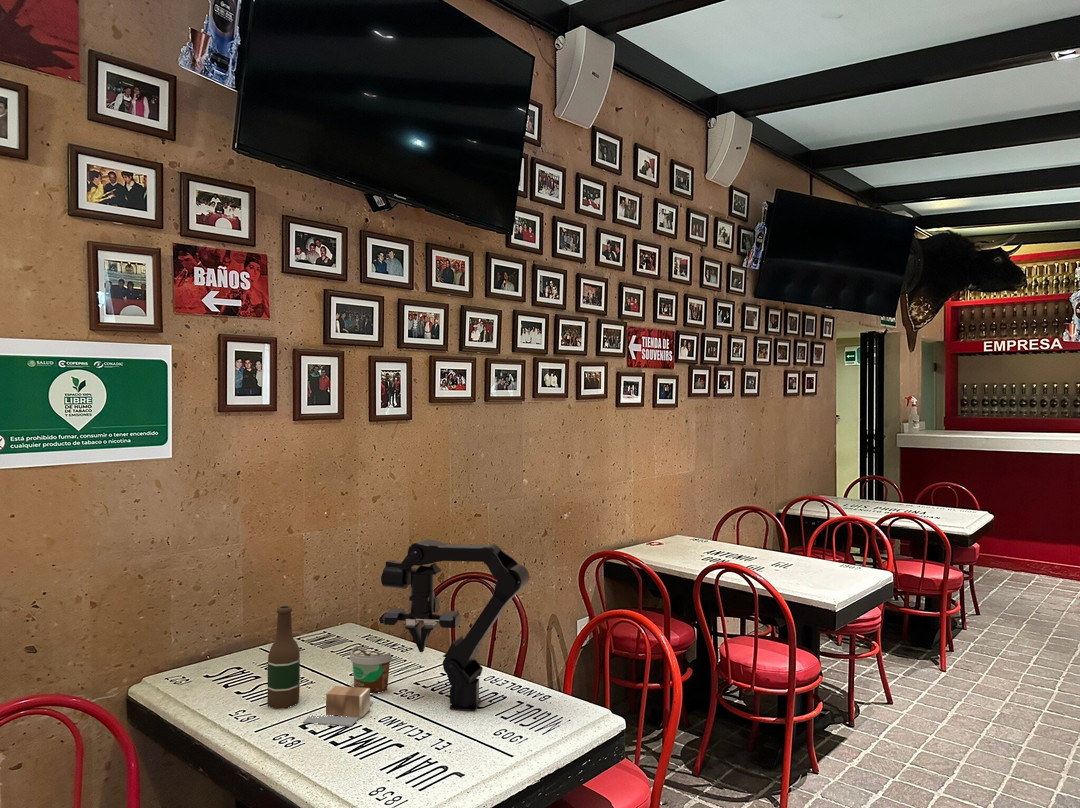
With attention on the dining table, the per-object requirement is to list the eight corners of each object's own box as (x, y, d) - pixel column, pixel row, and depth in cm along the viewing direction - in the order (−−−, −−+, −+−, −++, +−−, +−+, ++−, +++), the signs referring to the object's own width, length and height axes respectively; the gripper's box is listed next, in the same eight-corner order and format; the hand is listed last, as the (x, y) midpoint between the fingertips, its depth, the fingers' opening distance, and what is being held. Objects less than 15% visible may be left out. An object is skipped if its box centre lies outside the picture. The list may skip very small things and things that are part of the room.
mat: (373, 702, 183) (373, 701, 183) (351, 726, 169) (351, 725, 169) (328, 699, 185) (328, 698, 185) (302, 723, 171) (302, 721, 171)
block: (370, 688, 179) (335, 685, 180) (361, 696, 174) (326, 693, 175) (369, 708, 179) (335, 706, 180) (361, 717, 174) (326, 714, 175)
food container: (339, 690, 191) (339, 651, 191) (355, 682, 196) (355, 645, 196) (376, 699, 185) (376, 659, 185) (391, 691, 191) (392, 652, 191)
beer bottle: (289, 711, 178) (290, 612, 178) (260, 708, 179) (261, 610, 179) (305, 698, 185) (306, 603, 185) (278, 695, 187) (278, 601, 187)
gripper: (465, 584, 192) (465, 643, 192) (397, 581, 195) (397, 639, 195) (454, 594, 181) (454, 658, 181) (382, 591, 184) (382, 653, 184)
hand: (421, 651), depth 185 cm, fingers closed
